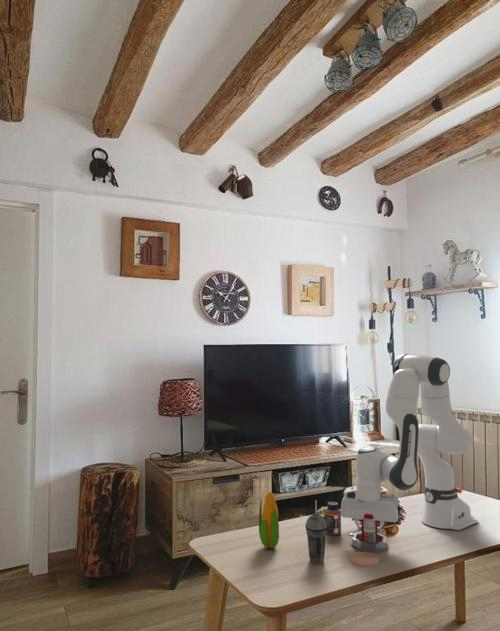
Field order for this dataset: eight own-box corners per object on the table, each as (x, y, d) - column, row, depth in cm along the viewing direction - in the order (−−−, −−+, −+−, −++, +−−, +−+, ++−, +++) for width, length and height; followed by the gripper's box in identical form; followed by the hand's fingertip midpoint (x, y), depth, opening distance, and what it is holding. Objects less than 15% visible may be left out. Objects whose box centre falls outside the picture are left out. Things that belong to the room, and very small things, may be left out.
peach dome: (365, 551, 177) (365, 549, 177) (385, 562, 168) (385, 560, 168) (342, 557, 172) (342, 555, 172) (362, 568, 163) (362, 567, 163)
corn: (264, 554, 175) (264, 496, 176) (255, 546, 182) (255, 490, 183) (284, 551, 178) (283, 493, 179) (274, 543, 185) (273, 487, 186)
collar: (371, 536, 191) (371, 527, 191) (393, 547, 180) (393, 538, 180) (343, 542, 185) (343, 533, 185) (365, 554, 174) (365, 545, 174)
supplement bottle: (340, 536, 190) (340, 506, 191) (324, 535, 191) (324, 505, 192) (341, 530, 196) (340, 501, 197) (325, 529, 197) (325, 500, 198)
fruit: (321, 525, 207) (323, 504, 210) (339, 530, 201) (342, 508, 203) (306, 523, 202) (309, 502, 204) (325, 527, 195) (328, 506, 198)
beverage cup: (305, 566, 166) (304, 504, 167) (306, 557, 173) (305, 497, 174) (328, 567, 165) (327, 505, 166) (327, 558, 172) (326, 498, 173)
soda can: (371, 540, 187) (370, 507, 187) (380, 545, 182) (380, 511, 182) (358, 542, 184) (358, 509, 185) (368, 548, 179) (367, 514, 180)
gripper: (398, 492, 183) (399, 531, 183) (341, 488, 190) (342, 525, 189) (398, 497, 177) (399, 538, 177) (339, 492, 184) (340, 531, 183)
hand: (369, 531), depth 183 cm, fingers closed on soda can, 5 cm apart
